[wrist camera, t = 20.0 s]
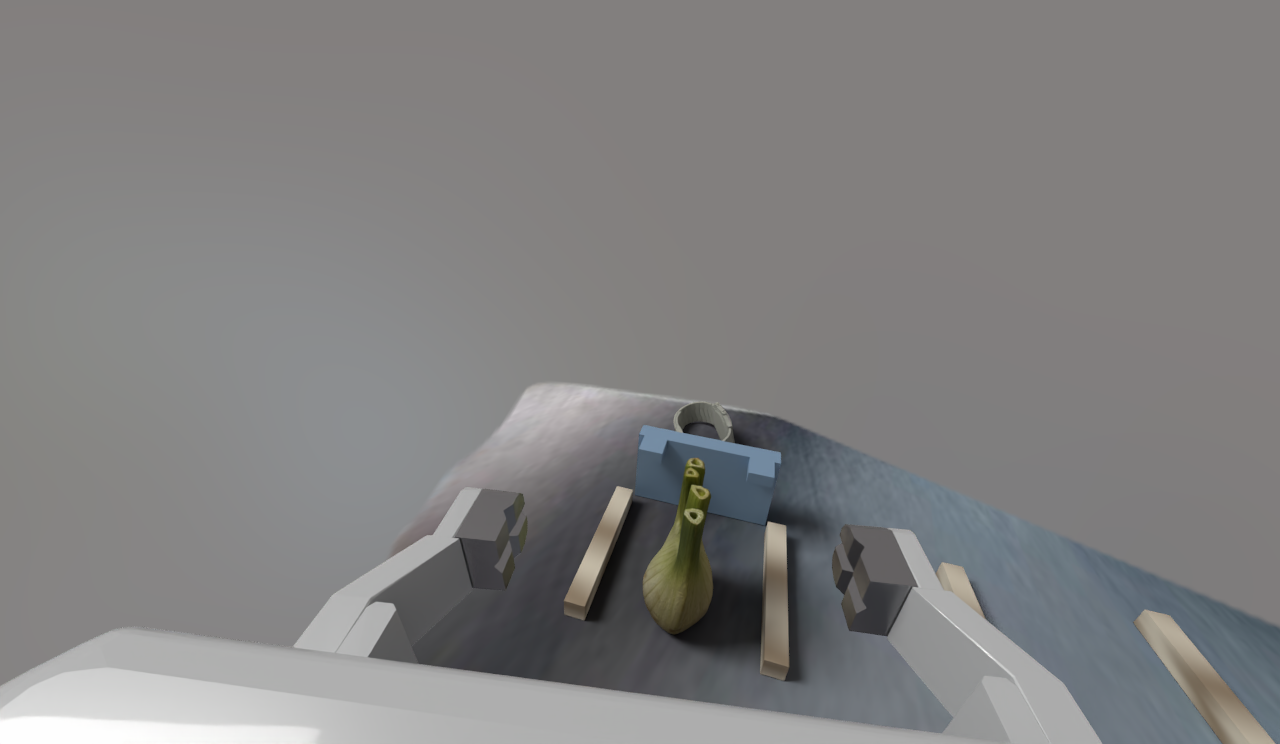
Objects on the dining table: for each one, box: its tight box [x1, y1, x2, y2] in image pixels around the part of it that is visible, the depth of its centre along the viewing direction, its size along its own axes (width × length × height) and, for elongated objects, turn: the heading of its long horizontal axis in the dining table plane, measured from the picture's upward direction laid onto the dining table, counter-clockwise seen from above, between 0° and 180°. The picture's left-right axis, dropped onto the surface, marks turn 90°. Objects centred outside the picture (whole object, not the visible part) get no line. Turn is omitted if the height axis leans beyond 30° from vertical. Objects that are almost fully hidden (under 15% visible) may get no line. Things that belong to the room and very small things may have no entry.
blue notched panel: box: [635, 425, 781, 526], centre depth 40 cm, size 4×12×7 cm, turn 75°
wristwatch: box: [674, 402, 735, 443], centre depth 49 cm, size 9×6×5 cm
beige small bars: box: [564, 486, 1275, 744], centre depth 32 cm, size 12×42×2 cm, turn 75°
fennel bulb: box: [643, 458, 713, 634], centre depth 30 cm, size 6×5×12 cm
